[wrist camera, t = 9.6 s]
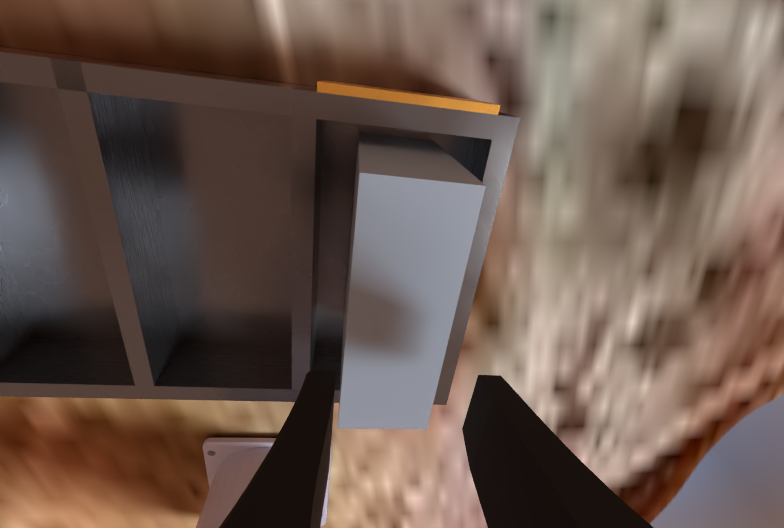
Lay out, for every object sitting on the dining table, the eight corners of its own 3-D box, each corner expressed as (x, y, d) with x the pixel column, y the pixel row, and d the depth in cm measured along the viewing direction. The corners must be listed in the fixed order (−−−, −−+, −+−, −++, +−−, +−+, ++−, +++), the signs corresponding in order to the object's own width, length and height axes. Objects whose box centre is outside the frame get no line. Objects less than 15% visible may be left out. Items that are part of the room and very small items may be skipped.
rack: (432, 353, 22) (446, 404, 19) (36, 339, 19) (-33, 395, 16) (487, 100, 16) (522, 108, 12) (-87, 25, 13) (-243, 8, 10)
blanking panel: (404, 316, 20) (426, 429, 13) (344, 313, 19) (337, 428, 13) (434, 141, 16) (485, 185, 9) (358, 132, 15) (359, 172, 9)
